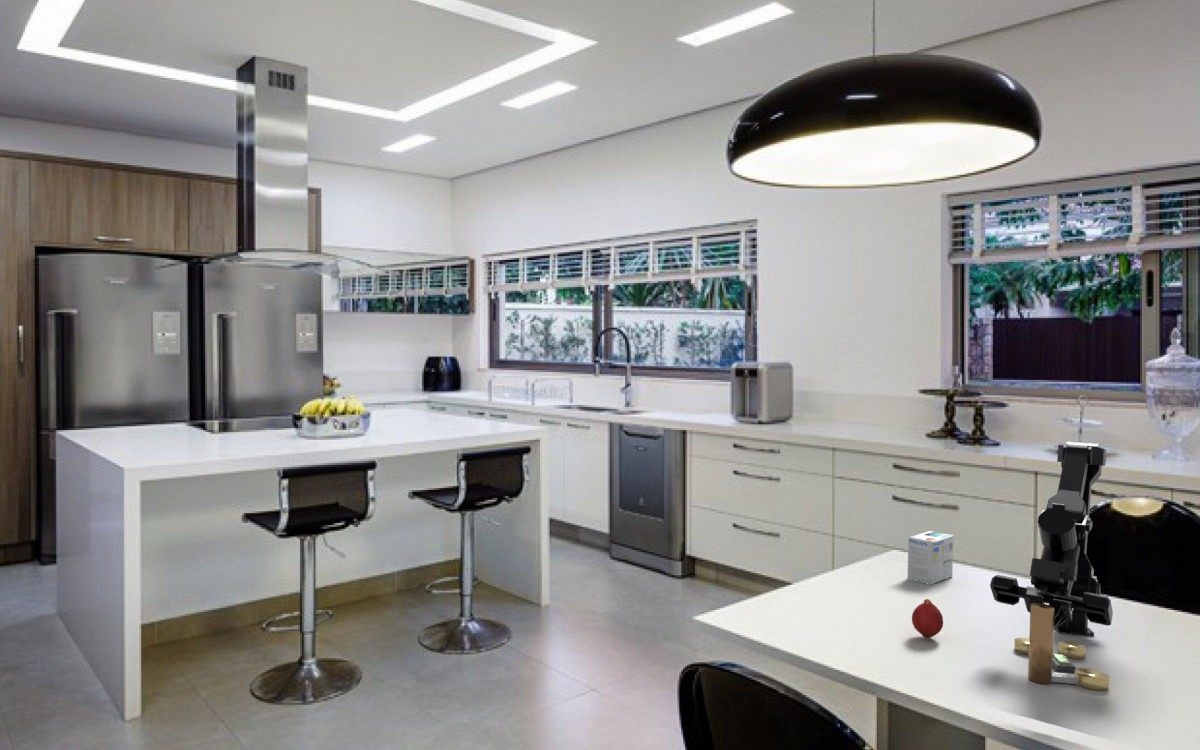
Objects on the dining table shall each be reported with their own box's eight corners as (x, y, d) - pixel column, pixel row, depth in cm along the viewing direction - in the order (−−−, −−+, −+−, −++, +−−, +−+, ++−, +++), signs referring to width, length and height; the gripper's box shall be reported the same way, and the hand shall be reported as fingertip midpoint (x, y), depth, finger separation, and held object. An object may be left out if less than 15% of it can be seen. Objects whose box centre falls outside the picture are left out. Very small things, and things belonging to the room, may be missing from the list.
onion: (917, 630, 166) (918, 592, 166) (946, 637, 162) (947, 598, 162) (907, 638, 162) (908, 599, 161) (937, 646, 158) (938, 605, 157)
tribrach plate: (986, 647, 157) (987, 632, 157) (1101, 657, 153) (1101, 641, 153) (1016, 692, 138) (1016, 674, 138) (1148, 704, 133) (1149, 686, 133)
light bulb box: (927, 571, 208) (929, 529, 208) (953, 577, 203) (954, 534, 203) (906, 579, 201) (907, 536, 201) (932, 585, 196) (933, 541, 196)
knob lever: (1101, 679, 140) (1104, 606, 139) (1113, 692, 135) (1116, 616, 134) (1024, 673, 142) (1026, 601, 142) (1033, 685, 137) (1035, 610, 137)
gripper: (995, 531, 150) (974, 604, 142) (1113, 550, 138) (1097, 632, 130) (1005, 564, 157) (985, 636, 149) (1118, 585, 144) (1104, 665, 137)
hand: (1039, 641), depth 141 cm, fingers closed, pressing on knob lever
